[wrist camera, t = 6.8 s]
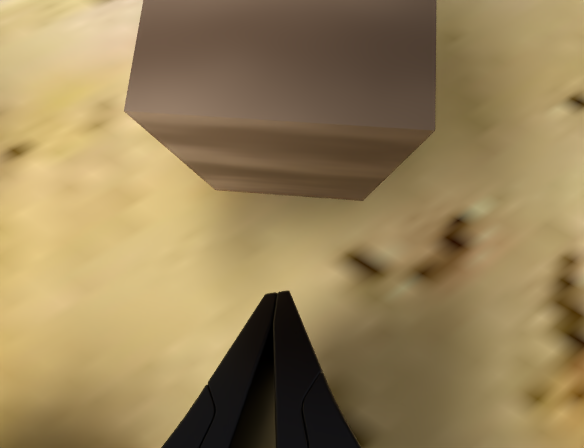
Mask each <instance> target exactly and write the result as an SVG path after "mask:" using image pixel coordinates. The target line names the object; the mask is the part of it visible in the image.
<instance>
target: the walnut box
mask: <svg viewBox="0 0 584 448" xmlns="http://www.w3.org/2000/svg"><path fill="white" fill-rule="evenodd" d="M435 87H436V0H143V6H142V11H141V17H140V23H139V28H138V34H137V40H136V46H135V51H134V57H133V63H132V68H131V74H130V80H129V85H128V91H127V97H126V102H125V108H124V112H126V113H127V114H128V115H129V116H130V117H131V118H133V119H134V120H135V121H136V122H137V123H138V124H140V125H141V126H142V127H143V128H144V129H145V130H146V131H148V132H149V133H150V134H151V135H152V136H153V137H155V138H156V139H157V140H158V141H159V142H160V143H162V144H163V145H164V146H165V147H166V148H167V149H169V150H170V151H171V152H172V153H173V154H174V155H175V156H177V157H178V158H179V159H180V160H181V161H182V162H184V163H185V164H186V165H187V166H188V167H189V168H191V169H192V170H193V171H194V172H195V173H196V174H197V175H199V176H200V177H201V178H202V179H203V180H204V181H206V182H207V183H208V184H209V185H210V186H211V187H213V188H214V189H215V190H222V191H236V192H250V193H264V194H277V195H291V196H305V197H319V198H332V199H346V200H360V201H363V200H364V199H365V198H366V197H367V196H368V195H369V194H370V193H371V192H372V191H373V190H374V189H375V188H376V187H377V186H378V185H379V184H380V183H381V182H382V181H383V180H385V179H386V178H387V177H388V176H389V175H390V174H391V173H392V172H393V171H394V170H395V169H396V168H397V167H398V166H399V165H400V164H401V163H402V162H403V161H404V160H405V159H406V158H407V157H408V156H409V155H410V154H411V153H412V152H413V151H414V150H416V149H417V148H418V147H419V146H420V145H421V144H422V143H423V142H424V141H425V140H426V139H427V138H428V137H429V136H430V135H431V134H432V133H433V132H434V131H435Z"/></svg>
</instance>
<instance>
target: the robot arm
mask: <svg viewBox="0 0 584 448" xmlns="http://www.w3.org/2000/svg"><path fill="white" fill-rule="evenodd" d="M161 448H361V446H360V444H359V442H358V441H357V439H356V437H355V436H354V434H353V432H352V430H351V429H350V427H349V425H348V423H347V422H346V420H345V418H344V416H343V414H342V412H341V410H340V409H339V407H338V405H337V403H336V401H335V399H334V396H333V394H332V392H331V390H330V388H329V385H328V383H327V381H326V378H325V376H324V373H323V372H322V369H321V366H320V364H319V362H318V359H317V357H316V354H315V352H314V349H313V347H312V345H311V342H310V340H309V337H308V335H307V332H306V330H305V328H304V325H303V323H302V320H301V318H300V315H299V313H298V311H297V308H296V306H295V303H294V301H293V298H292V296H291V294H290V291H281V292H278V293H276V292H274V293H268V294H265V295H264V297H263V298H262V300H261V302H260V303H259V305H258V306H257V308H256V309H255V311H254V312H253V314H252V315H251V317H250V318H249V320H248V322H247V323H246V325H245V326H244V328H243V329H242V331H241V332H240V334H239V335H238V337H237V338H236V340H235V341H234V343H233V345H232V346H231V348H230V349H229V351H228V352H227V354H226V355H225V357H224V358H223V360H222V361H221V363H220V365H219V366H218V368H217V369H216V371H215V372H214V374H213V375H212V377H211V378H210V380H209V381H208V385H206V386H205V387H204V389H203V390H202V392H201V394H200V395H199V397H198V398H197V400H196V401H195V402H194V404H193V405H192V407H191V408H190V410H189V411H188V413H187V414H186V416H185V417H184V418H183V420H182V421H181V422H180V424H179V425H178V426H177V428H176V429H175V430H174V432H173V433H172V434H171V436H170V437H169V438H168V440H167V441H166V442H165V444H164V445H163V446H162V447H161Z"/></svg>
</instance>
